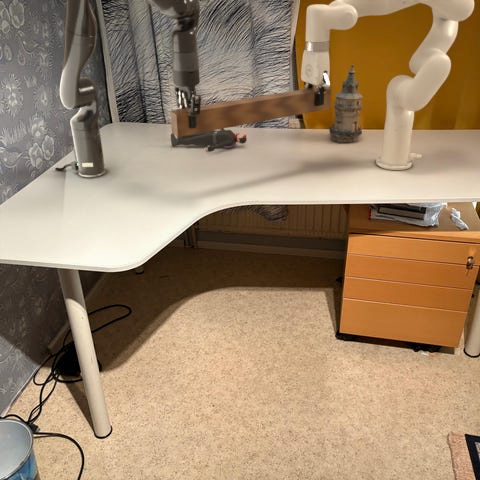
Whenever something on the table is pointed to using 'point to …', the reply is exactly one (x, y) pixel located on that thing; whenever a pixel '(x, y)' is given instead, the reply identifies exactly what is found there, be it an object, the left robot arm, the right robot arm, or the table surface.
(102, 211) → the table surface
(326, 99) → the post
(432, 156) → the table surface
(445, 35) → the right robot arm
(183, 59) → the left robot arm
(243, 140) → the toy
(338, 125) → the miniature building
